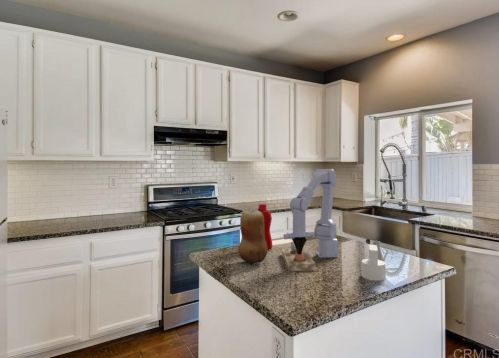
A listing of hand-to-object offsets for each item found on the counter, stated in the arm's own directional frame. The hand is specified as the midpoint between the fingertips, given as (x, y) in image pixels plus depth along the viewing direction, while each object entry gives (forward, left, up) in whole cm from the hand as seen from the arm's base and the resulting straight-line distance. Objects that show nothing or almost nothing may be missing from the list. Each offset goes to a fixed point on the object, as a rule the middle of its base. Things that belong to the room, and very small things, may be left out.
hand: (299, 253), depth 138 cm
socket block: (0, -6, -6) cm, 8 cm away
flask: (-37, -4, -6) cm, 38 cm away
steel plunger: (0, -12, -3) cm, 12 cm away
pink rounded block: (0, 0, -4) cm, 4 cm away
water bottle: (+16, -30, -6) cm, 35 cm away
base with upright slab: (-28, +14, -6) cm, 32 cm away
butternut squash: (+21, -5, -6) cm, 22 cm away
